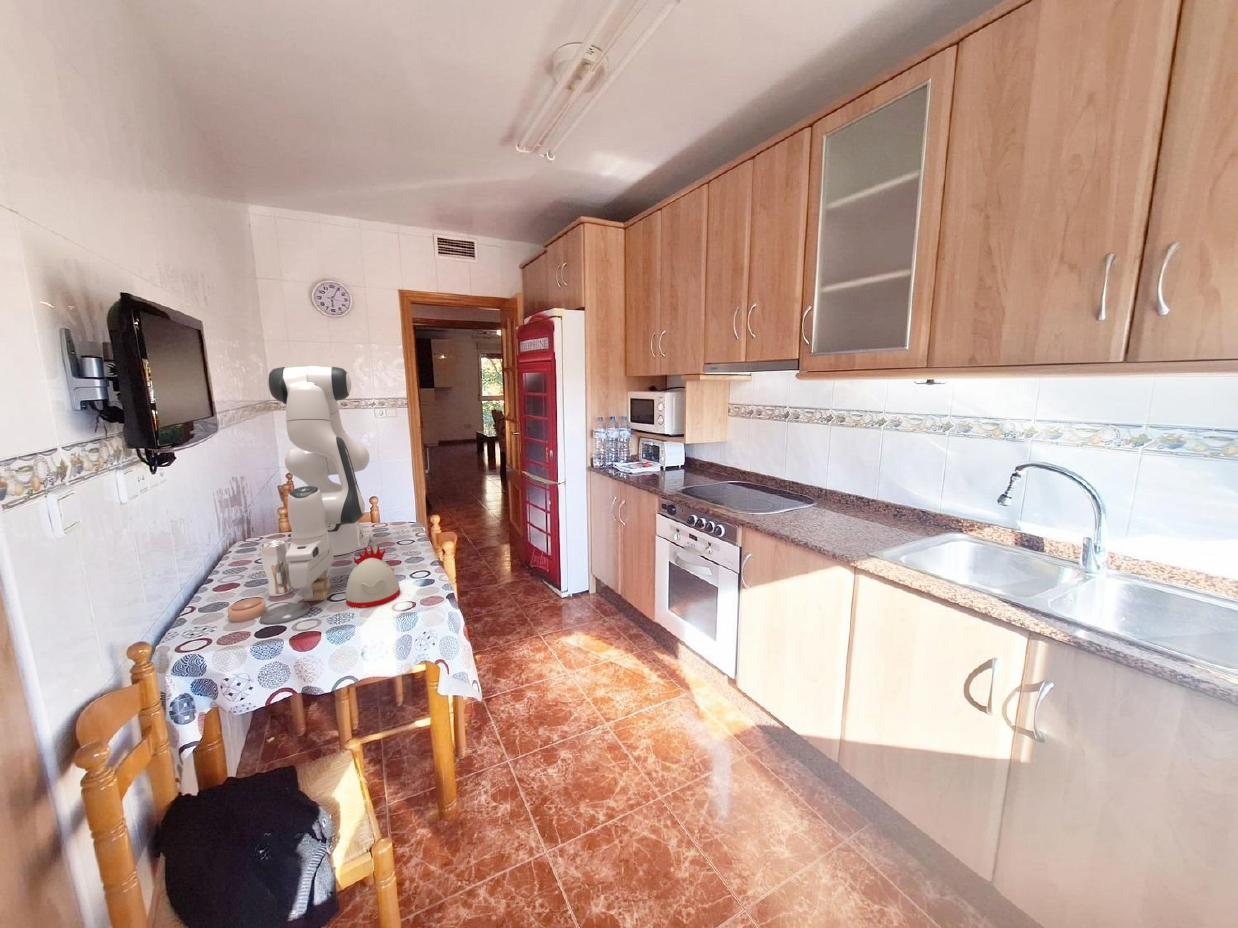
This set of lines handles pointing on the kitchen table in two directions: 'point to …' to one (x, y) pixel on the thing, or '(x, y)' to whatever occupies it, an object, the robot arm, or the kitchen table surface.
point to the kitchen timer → (371, 581)
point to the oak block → (320, 589)
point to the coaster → (285, 613)
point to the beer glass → (276, 567)
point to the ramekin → (246, 610)
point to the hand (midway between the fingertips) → (317, 590)
